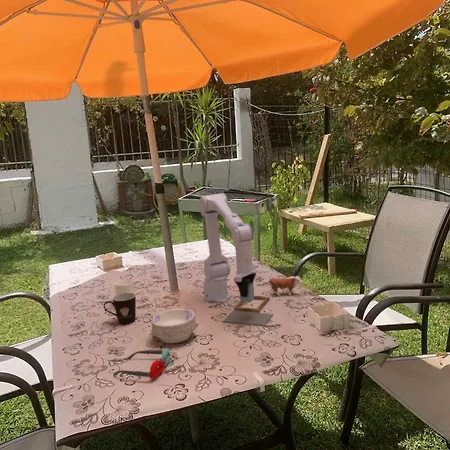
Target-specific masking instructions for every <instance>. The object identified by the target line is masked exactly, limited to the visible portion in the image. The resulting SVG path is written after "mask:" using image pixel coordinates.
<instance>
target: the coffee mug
mask: <svg viewBox="0 0 450 450" xmlns="http://www.w3.org/2000/svg"><path fill="white" fill-rule="evenodd" d="M136 297H137V296H136V294H135V292H134V293H121V294H118V295H116V294H115V295H114V296H113V297H112V299H111V300H112V301H110V300H109V301H106V302H104V303H103V307H102V308H103V309H104V311H106V312H107V313H109V314H111V315H113V316H115V317H116V318H117V322H118V324H119V325H121V324H123V325H122V326H127V324H128V325H131V323H132V324H134V323H135V322H136V321H135V320H136V319H137V318H136V317H137V316H136V310H137V309H136V305H137V304H136V303H137V301H136V299H137V298H136ZM107 304H112V306H113V307H114V309H115V312H112V311H110V310H108V309H107V307H106V305H107ZM133 322H134V323H133Z"/></svg>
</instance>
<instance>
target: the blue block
mask: <svg viewBox="0 0 450 450" xmlns="http://www.w3.org/2000/svg"><path fill="white" fill-rule="evenodd" d="M254 289H255V287H254V282H253V283H249V285H248V295H247V297H241V294H240V293H239V302H240V301H241V302H245V303H252V301H254V300H255V299H254V296H255V290H254Z"/></svg>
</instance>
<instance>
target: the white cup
mask: <svg viewBox="0 0 450 450" xmlns="http://www.w3.org/2000/svg"><path fill="white" fill-rule="evenodd" d="M113 284H114V291H115V295H118V294H121V293H134V294H135V282H134V279H127V278H126V279H120V280H117V281H114V283H113Z"/></svg>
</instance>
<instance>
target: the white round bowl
mask: <svg viewBox="0 0 450 450" xmlns="http://www.w3.org/2000/svg"><path fill="white" fill-rule="evenodd" d="M150 323H151V329H152V334H153V336H155V337H156V338H159V339H160V340H161V341H162V342H163V343H166V344H179V343H182V342H184V341H186V340H188V339H190V337H191V336H192V333H193V332H195V331H196V330H197V326H198V325H197V318H196V313H195V311H194V310H191V309H188V308H172V309H167V310H163V311H161V312H157V313H155V315H153V317H152V318H151V320H150Z"/></svg>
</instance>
